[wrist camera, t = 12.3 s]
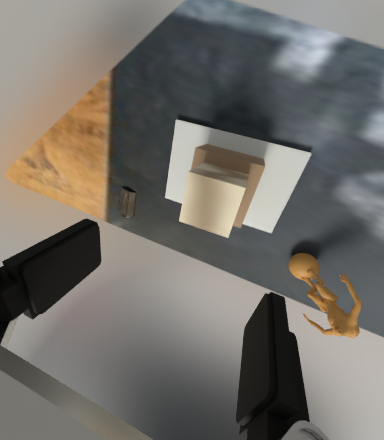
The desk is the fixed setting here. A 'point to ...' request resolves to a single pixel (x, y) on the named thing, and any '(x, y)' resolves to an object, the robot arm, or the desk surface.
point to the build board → (269, 181)
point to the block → (127, 202)
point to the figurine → (340, 321)
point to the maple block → (212, 198)
